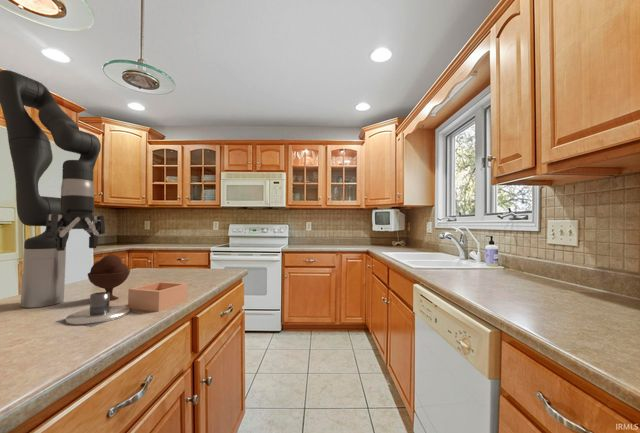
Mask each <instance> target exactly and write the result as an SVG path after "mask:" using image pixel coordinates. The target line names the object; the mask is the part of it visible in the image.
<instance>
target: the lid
mask: <svg viewBox="0 0 640 433" xmlns="http://www.w3.org/2000/svg"><path fill="white" fill-rule="evenodd" d="M89 298H90V299H89V308H88V309H84V310H79V311H76V312H73V313H71V314H68V315H67V316H66V317H65V319H66V323H65V324H67V325H71V326H83V325H87V324H96V323H102V322H105V323H107V321H108V322H112V321H115V320H119V319H121V318H124V317H125V316H128V315H127V314H129V312H130V309H131V308H129V307H128V306H126V305H125V306H124V305H110V302H111V301H110V292H106V291H101V292H95V293H91V294H90V297H89ZM129 315H130V314H129ZM102 324H103V323H102Z"/></svg>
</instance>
